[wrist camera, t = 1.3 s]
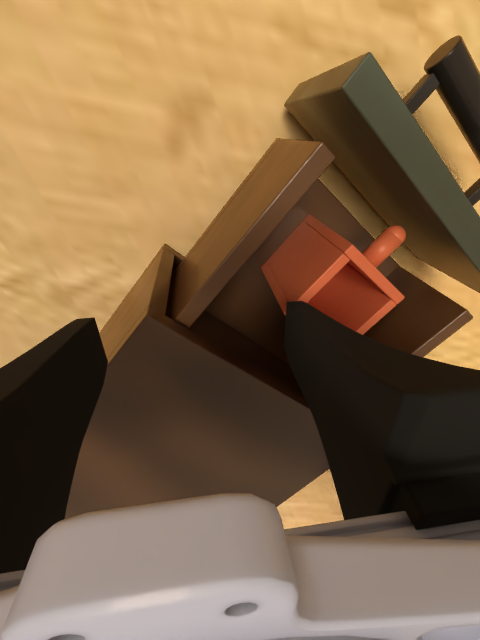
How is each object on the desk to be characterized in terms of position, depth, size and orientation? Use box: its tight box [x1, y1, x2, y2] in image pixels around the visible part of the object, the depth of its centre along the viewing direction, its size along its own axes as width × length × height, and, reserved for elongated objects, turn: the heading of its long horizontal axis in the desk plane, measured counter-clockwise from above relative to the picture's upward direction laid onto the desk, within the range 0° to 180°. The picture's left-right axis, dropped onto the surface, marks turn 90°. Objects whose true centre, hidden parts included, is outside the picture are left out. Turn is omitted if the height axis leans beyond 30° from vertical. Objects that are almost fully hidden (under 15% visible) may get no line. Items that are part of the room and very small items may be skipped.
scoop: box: [261, 214, 406, 335], centre depth 17 cm, size 6×4×6 cm
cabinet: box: [65, 244, 330, 519], centre depth 21 cm, size 15×15×9 cm
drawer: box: [165, 36, 480, 398], centre depth 17 cm, size 18×13×7 cm
